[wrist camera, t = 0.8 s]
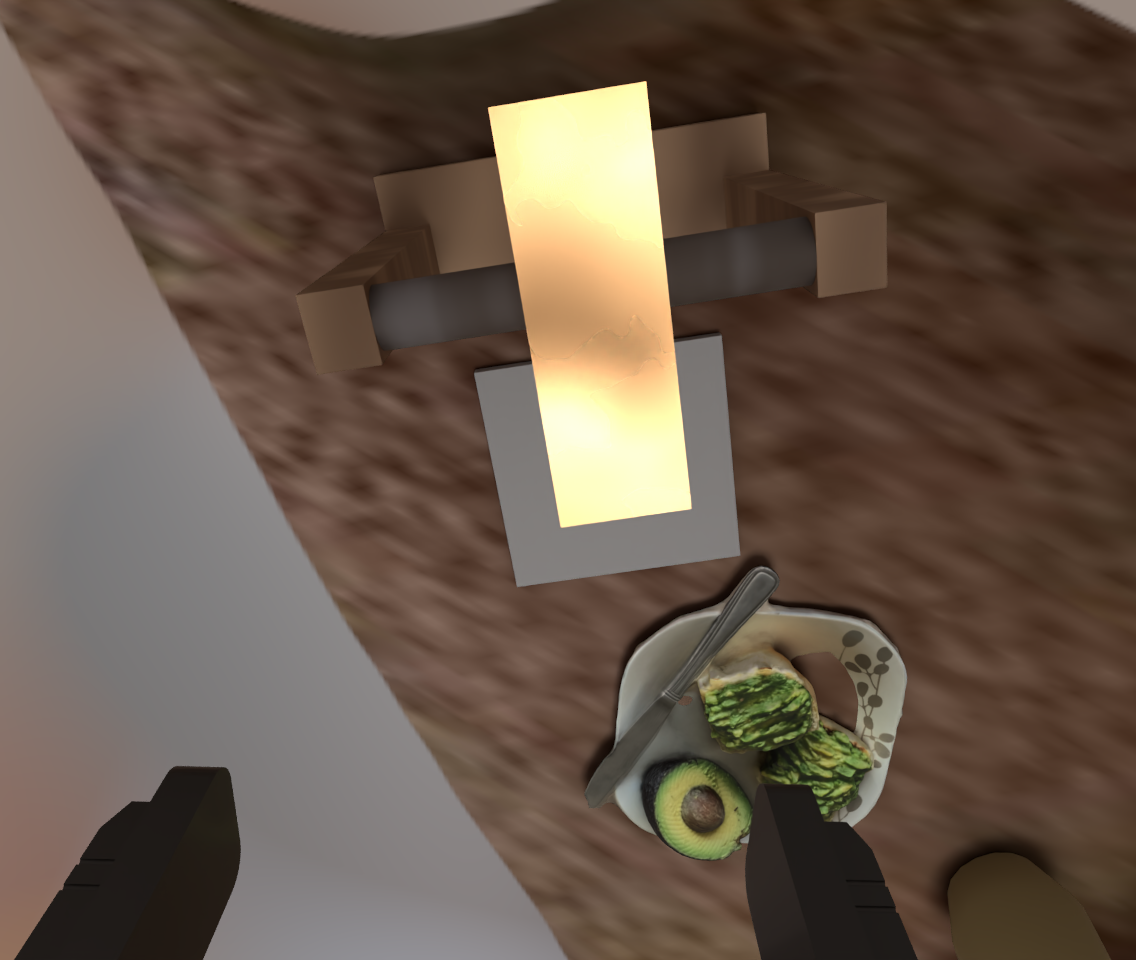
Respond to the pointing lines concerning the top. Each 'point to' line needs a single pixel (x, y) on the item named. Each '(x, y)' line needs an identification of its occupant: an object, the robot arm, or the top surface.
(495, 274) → the stand
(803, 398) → the top surface
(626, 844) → the top surface
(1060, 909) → the squeeze bottle
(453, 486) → the top surface
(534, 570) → the mat
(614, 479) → the link
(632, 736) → the salad plate
